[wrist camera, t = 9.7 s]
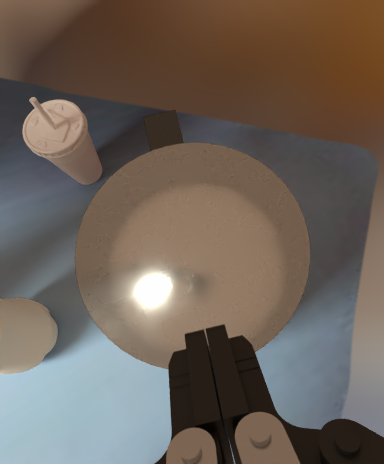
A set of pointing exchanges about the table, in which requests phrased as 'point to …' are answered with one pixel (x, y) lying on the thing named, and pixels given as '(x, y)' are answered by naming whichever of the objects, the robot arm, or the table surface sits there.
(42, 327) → the water bottle
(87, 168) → the smoothie
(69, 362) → the table surface
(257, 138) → the table surface
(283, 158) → the table surface
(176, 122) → the cooker lid
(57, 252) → the table surface
